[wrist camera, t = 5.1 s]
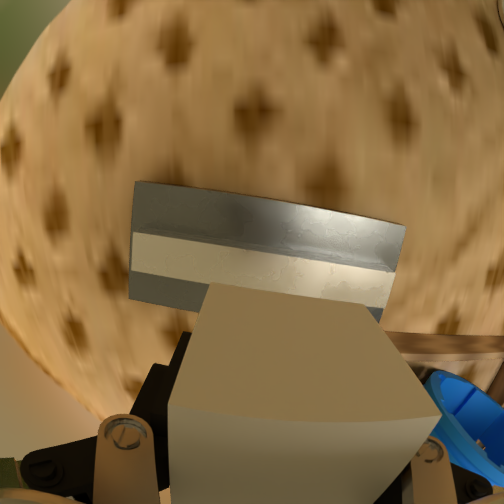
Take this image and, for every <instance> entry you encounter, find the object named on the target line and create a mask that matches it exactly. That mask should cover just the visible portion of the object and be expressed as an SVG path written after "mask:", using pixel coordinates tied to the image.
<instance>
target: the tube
mask: <svg viewBox="0 0 504 504" xmlns="http://www.w3.org/2000/svg"><path fill="white" fill-rule="evenodd" d="M423 387H424V388H425V390H426V391H427V393H428V394H429V396H430V397H431V399H432V400H433V401H434V403H435V404H436V406H437V408H438V409H439V411H440V412H441V414H442V416H441V418H440V420H439V421H438V423H437V424H436V426H435V427H434V429H433V430H432V432H431V433H430V434H429V436H433V437H435V438H437V439H438V440H440V441H441V442H442V443H443V444H444V445H445V446H446V449H447V451H448V456H449V460H450V462H451V463H454V464H456V465H458V466H460V467H462V468H465V469H467V470H469V471H472V472H474V473H476V474H479V475H481V476H483V477H485V478H486V479H487V480H488V481H489V482H490V483H491V485H492V486H493V485H496V486H500V487H504V409H503V408H502V407H501V406H500V405H499V404H498V403H497V402H496V401H495V400H493V399H492V398H491V397H490V396H489V395H487V394H486V393H485V392H483V391H482V390H481V389H479V388H478V387H476V386H475V385H473V384H472V383H470V382H469V381H467V380H465V379H463V378H461V377H459V376H457V375H455V374H452V373H450V372H446V371H436V372H433V373H432V375H431V376H430V377H429V378H428V380H427V381H426V383H425V384H424V385H423ZM478 439H479V440H480V441H481V442H482V444H483V445H484V446H485V447H486V449H485V450H483V449H482V448H481V447H480V446H479V445H478V444H477V443H476V441H477V440H478Z"/></svg>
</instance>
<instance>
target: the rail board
mask: <svg viewBox="0 0 504 504" xmlns="http://www.w3.org/2000/svg"><path fill="white" fill-rule="evenodd" d="M405 231H406V226H404V225H401V224H398V223H393V222H389V221H384V220H380V219H375V218H371V217H366V216H361V215H356V214H352V213H347V212H342V211H337V210H332V209H326V208H321V207H316V206H310V205H305V204H299V203H294V202H288V201H282V200H277V199H271V198H265V197H258V196H252V195H246V194H239V193H233V192H226V191H219V190H212V189H205V188H197V187H190V186H182V185H174V184H166V183H157V182H148V181H135V188H134V198H133V209H132V222H131V237H130V258H129V299H132V300H137V301H142V302H147V303H152V304H157V305H162V306H167V307H172V308H177V309H183V310H188V311H194V312H199V313H200V310H201V307H202V304H203V302H204V299H205V296H206V293H207V291H208V288H209V285H210V282H215V283H221V284H227V285H233V286H239V287H246V288H252V289H259V290H265V291H272V292H279V293H286V294H292V295H300V296H307V297H314V298H321V299H329V300H337V301H344V302H352V303H360V304H364V305H365V306H366V308H367V309H368V310H369V312H370V313H371V314H372V316H373V317H374V318H375V320H376V321H377V322H378V324H379V321H380V318H381V315H382V312H383V309H384V308H385V307H386V304H387V301H388V298H389V295H390V291H391V288H392V285H393V281H394V278H395V275H396V273H395V270H396V266H397V263H398V259H399V255H400V251H401V247H402V243H403V239H404V235H405Z"/></svg>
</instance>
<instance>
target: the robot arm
mask: <svg viewBox="0 0 504 504" xmlns="http://www.w3.org/2000/svg"><path fill="white" fill-rule="evenodd" d="M498 8H499V14H500V17H501V21H502V23H503V26H504V0H498ZM191 335H192V333H190V332H185V331H183V333H182V335H181V338H180V340H179V342H178V345H177V347H176V349H175V352H174V354H173V357H172V359H171V361H170V364H169V366H166V365H162V364H157V363H154V364H153V365H152V367H151V369H150V371H149V373H148V375H147V377H146V380H145V382H144V384H143V386H142V388H141V390H140V392H139V394H138V396H137V398H136V400H135V403H134V405H133V407H132V409H131V411H130V413H129V414H116V415H113V416H110V417H108V418H106V419H105V420H104V421H103V422H102V423H101V424H100V427H99V430H98V435H97V436H94V437H90V438H86V439H83V440H79V441H75V442H71V443H67V444H63V445H58V446H54V447H49V448H45V449H40V450H36V451H33V452H30V453H29V454H27V455H26V456H25V457H24V458H23V460H19V461H16V460H15V458H14V457H12V458H0V504H160V497H159V491H162V490H164V489H166V488H169V485H170V476H169V453H168V402H169V399H170V396H171V393H172V390H173V387H174V384H175V381H176V378H177V375H178V372H179V369H180V366H181V363H182V361H183V358H184V355H185V352H186V349H187V346H188V343H189V341H190V338H191ZM373 504H504V487H500V486H496V485H493V486H492V485H491V483H490V482H489V481H488V480H487V479H486V478H485V477H483V476H481V475H479V474H476V473H474V472H472V471H469V470H467V469H465V468H462V467H460V466H458V465H456V464H454V463H451V462H450V460H449V456H448V451H447V449H446V446H445V445H444V444H443V443H442V442H441V441H440V440H438V439H437V438H435V437H433V436H428V437H427V439H426V440H425V442H424V443H423V444H422V446H421V447H420V448H419V450H418V451H417V452H416V454H415V455H414V456H413V458H412V459H411V460H410V461H409V463H408V464H407V465H406V466H405V468H404V469H403V470H402V471H401V473H400V474H399V475H398V476H397V477H396V478H395V480H394V481H393V482H392V483H391V484H390V485H389V487H388V488H387V489H386V490H385V491H384V492H383V493H382V494H381V495H380V496H379V497H378V499H377V500H376V501H375V502H374V503H373Z"/></svg>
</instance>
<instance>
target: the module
mask: <svg viewBox="0 0 504 504" xmlns="http://www.w3.org/2000/svg"><path fill="white" fill-rule="evenodd" d="M441 416H442V414H441V412H440V411H439V409H438V408H437V406H436V404H435V403H434V401H433V400H432V399H431V397H430V396H429V394H428V393H427V391H426V390H425V388H424V387H423V385H422V384H421V382H420V381H419V379H418V378H417V377H416V375H415V374H414V372H413V371H412V369H411V368H410V367H409V365H408V364H407V362H406V361H405V359H404V358H403V357H402V355H401V354H400V352H399V351H398V350H397V348H396V347H395V345H394V344H393V343H392V341H391V340H390V339H389V337H388V336H387V335H386V333H385V332H384V330H383V329H382V328H381V326H380V325H379V324H378V322H377V321H376V320H375V318H374V317H373V316H372V314H371V313H370V312H369V310H368V309H367V308H366V306H365V305H364V304H360V303H352V302H344V301H337V300H329V299H321V298H314V297H307V296H300V295H292V294H286V293H279V292H272V291H265V290H259V289H252V288H246V287H239V286H233V285H227V284H221V283H215V282H210V285H209V288H208V291H207V293H206V296H205V299H204V302H203V304H202V307H201V310H200V313H199V315H198V318H197V321H196V324H195V327H194V329H193V332H192V335H191V338H190V341H189V343H188V346H187V349H186V352H185V355H184V358H183V361H182V363H181V366H180V369H179V372H178V375H177V378H176V381H175V384H174V387H173V390H172V393H171V396H170V399H169V402H168V453H169V476H170V493H171V504H373V503H374V502H375V501H376V500H377V499H378V497H379V496H380V495H381V494H382V493H383V492H384V491H385V490H386V489H387V488H388V487H389V485H390V484H391V483H392V482H393V481H394V480H395V478H396V477H397V476H398V475H399V474H400V473H401V471H402V470H403V469H404V468H405V466H406V465H407V464H408V463H409V461H410V460H411V459H412V458H413V456H414V455H415V454H416V452H417V451H418V450H419V448H420V447H421V446H422V444H423V443H424V442H425V440H426V439H427V437H428V436H429V434H430V433H431V432H432V430H433V429H434V427H435V426H436V424H437V423H438V421H439V420H440V418H441Z"/></svg>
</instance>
